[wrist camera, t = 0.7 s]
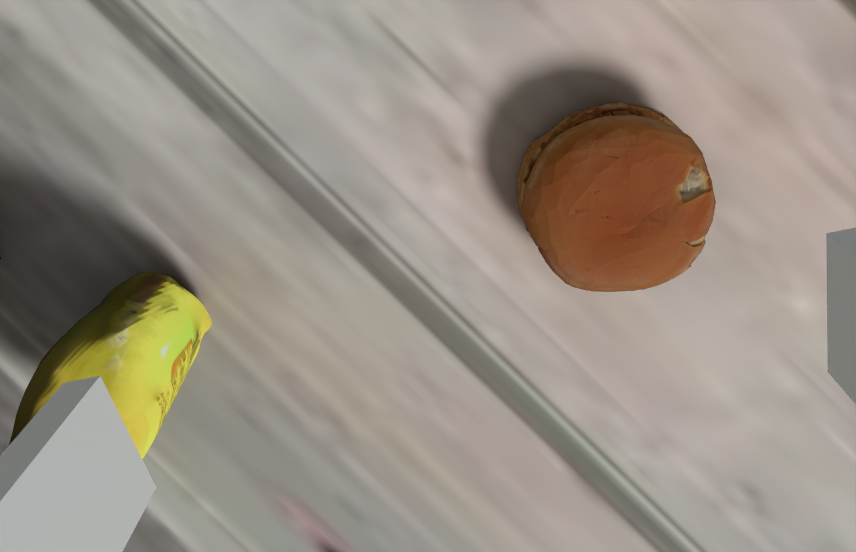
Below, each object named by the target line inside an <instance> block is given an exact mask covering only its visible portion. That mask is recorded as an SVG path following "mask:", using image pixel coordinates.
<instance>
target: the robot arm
mask: <svg viewBox="0 0 856 552" xmlns="http://www.w3.org/2000/svg"><path fill="white" fill-rule="evenodd" d="M827 337H828V372H829V374H830V375H831V376H832V377H833V378H834V379H835V381H836V382H837V383H838V384H839V385H840V387H841V388H842V389H843V390H844V391H845V392H846V394H847V395H848V396H849V397H850V398H851V399H852V401H853V402H854V403H855V404H856V228H852V229H847V230H842V231H837V232H832V233H827ZM155 489H156V486H155V484H154V482H153V480H152V478H151V476H150V474H149V472H148V470H147V468H146V466H145V464H144V462H143V460H142V458H141V456H140V454H139V452H138V450H137V448H136V446H135V444H134V442H133V440H132V438H131V436H130V434H129V432H128V430H127V428H126V426H125V424H124V422H123V420H122V418H121V416H120V414H119V412H118V410H117V408H116V406H115V404H114V402H113V400H112V398H111V396H110V394H109V392H108V390H107V388H106V386H105V384H104V382H103V380H102V378H101V376H96V377H91V378H86V379H81V380H76V381H71V382H66V383H63V384H62V385H61V386H60V387H59V388H58V390H57V391H56V392H55V393H54V394H53V395H52V397H51V398H50V399H49V400H48V401H47V402H46V403H45V405H44V406H43V407H42V408H41V409H40V410H39V412H38V413H37V414H36V415H35V416H34V417H33V418H32V420H31V421H30V422H29V423H28V424H27V425H26V427H25V428H24V429H23V430H22V431H21V432H20V434H19V435H18V436H17V437H16V438H15V439H14V440H13V442H12V443H11V444H10V445H9V446H8V447H7V449H6V450H5V451H4V452H3V453H2V454H1V455H0V552H122V551H123V549H124V548H125V546H126V544H127V542H128V540H129V538H130V536H131V534H132V533H133V531H134V529H135V527H136V525H137V523H138V521H139V519H140V518H141V516H142V514H143V512H144V510H145V508H146V506H147V504H148V503H149V501H150V499H151V497H152V495H153V493H154V491H155Z"/></svg>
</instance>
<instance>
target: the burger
mask: <svg viewBox="0 0 856 552" xmlns="http://www.w3.org/2000/svg"><path fill="white" fill-rule="evenodd" d="M517 197H518V203H519V207H520V211H521V214H522V217H523V219H524V222H525V225H526V229H527V231H528V232H529V234H530V236H531V237H532V239H533V241H534V242H535V244H536V245H537V246H538V249H539V251H540V253H541V254H542V256H543V258H544V260H545V261H546V263H547V264H548V265H549V267H550V268H551V269H552V271H553V272H554V273H555V274H556V275H557V276H559V277H560V278H561V279H562V280H563V281H564V282H565V283H566V284H568V285H570V286H572V287H575V288H579V289H583V290H589V291H601V292H616V291H634V290H639V289H646V288H650V287H654V286H657V285H660V284H662V283H665V282H667V281H669V280H671V279H673V278H675V277H676V276H678V275H680V274H682V273H683V272H684V271H685V270H687V269H688V268H689V267H690V266H691V264H692V262H693V261H694V260H695V259H696V257H697V256H698V255H699V254H700V252H701V251H702V249H703V247H704V244H705V240H704V238H705V235H706V234H707V232H708V230H709V228H710V226H711V223H712V221H713V215H714V209H715V203H716V201H715V197H714V193H713V187H712V181H711V178H710V175H709V173H708V170H707V166H706V163H705V160H704V157H703V154H702V152H701V150H700V149H699V148H698V146H697V145H696V144H695V142H694V141H693V139H692V138H691V137H690V136H688V135H687V134H685V133H684V132H682V130H680V129H679V128H678V127H677V126H676V125H674V124H673V123H672V122H671V120H669V119H668V118H667V117H666V116H663V117H662V116H661V115H660V114H658V113H656V112H655V111H653V110H651V109H648V108H644V107H640V106H635V105H629V104H626V103H621V102H612V103H609V104H605V105H602V106H596V107H587V108H586V109H584V110H583V111H577V112H574V113H572V114H569V116H567V117H566V118H565V119H563V120H562V121H561V122H560V123H559V124H557V125H556V126H555V127H554V128H552V129H551V130H549V131H548V132H547V133H546V134H545V135H544V136H542V137H541V138H539V139H536V140H535V141H534V143H533V144H532V145H531V146H530V147H529V148H528V150H527V152H526V153H525V156H524V158H523V161H522V164H521V167H520V171H519V175H518V185H517Z"/></svg>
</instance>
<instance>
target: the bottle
mask: <svg viewBox="0 0 856 552" xmlns="http://www.w3.org/2000/svg"><path fill="white" fill-rule="evenodd" d="M211 325H212V320H211V318H210V316H209V314H208V312H207V311H206V309H205V308H204V306H203V305H202V304H201V302H200V301H199V300H198V299H197V298H196V297H195V296H194V295H193V294H191V293H190V292H189V291H188V290H186V289H185V288H183V287H182V286H180V285H179V284H178V283H177V282H176V281H175V280H174V279H172V278H171V277H169V276H166V275H162V274H158V273H154V272H147V273H142V274H139V275H136V276H134V277H132V278H130V279H128V280H126V281H124V282H123V283H121V284H120V285H118V286H117V287H116V288H114V289H113V290H112V291H111V292H110V293H109V294H108V295H107V296H106V297H105V299H104V300H103V301H102V303H101V304H100V305H99V306H97V307H96V308H95V309H93V310H92V311H91V312H90V313H89V314H87V315H86V316H85V317H83V318H82V319H81V320H79V321H78V322H77V323H76V324H75V325H74V326H73V327H72V328H71V329H70V330H69V331H68V332H67V333H66V334H65V335H64V336H63V337H62V338H61V339H60V340H59V341H58V342H57V343H56V344H55V345H54V346H53V347H52V348H51V349H50V351H49V352H48V353H47V354H46V356H45V357H44V358H43V359H42V361H41V362H40V364H39V366H38V367H37V369H36V371H35V373H34V375H33V377H32V379H31V381H30V383H29V385H28V387H27V389H26V391H25V393H24V396H23V398H22V401H21V403H20V406H19V409H18V412H17V415H16V419H15V423H14V428H13V433H12V437H11V440H10V444H11V443H12V442H13V440H14V439H15V438H16V437H17V436H18V435H19V434H20V432H21V431H22V430H23V429H24V428H25V427H26V425H27V424H28V423H29V422H30V421H31V420H32V418H33V417H34V416H35V415H36V414H37V413H38V412H39V410H40V409H41V408H42V407H43V406H44V405H45V403H46V402H47V401H48V400H49V399H50V398H51V397H52V395H53V394H54V393H55V392H56V391H57V390H58V388H59V387H60V386H61V385H62V384H63V383H66V382H71V381H76V380H81V379H86V378H91V377H96V376H101V378H102V380H103V382H104V384H105V386H106V388H107V390H108V392H109V394H110V396H111V398H112V400H113V402H114V404H115V406H116V408H117V410H118V412H119V414H120V416H121V418H122V420H123V422H124V424H125V426H126V428H127V430H128V432H129V434H130V436H131V438H132V440H133V442H134V444H135V446H136V448H137V450H138V452H139V454H140V456H141V458H142V459H143V458H144V456H145V454H146V453H147V451H148V449H149V448H150V446H151V444H152V442H153V441H154V439H155V437H156V435H157V433H158V431H159V429H160V427H161V425H162V423H163V421H164V419H165V417H166V415H167V413H168V411H169V409H170V407H171V405H172V403H173V401H174V399H175V397H176V395H177V393H178V391H179V389H180V387H181V385H182V383H183V381H184V379H185V377H186V375H187V373H188V370H189V369H190V367H191V365H192V363H193V361H194V359H195V357H196V355H197V353H198V350H199V347H200V341H201V339H202V337H203V335H204V333H205V332H206V331H207V330H208V329H209V328H210V326H211ZM10 444H9V445H10Z"/></svg>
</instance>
